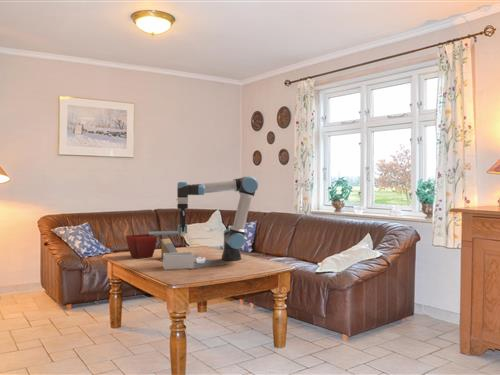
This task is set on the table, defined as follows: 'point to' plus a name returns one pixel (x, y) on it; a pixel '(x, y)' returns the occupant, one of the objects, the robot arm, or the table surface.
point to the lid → (168, 231)
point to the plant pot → (141, 245)
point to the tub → (178, 260)
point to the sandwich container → (167, 247)
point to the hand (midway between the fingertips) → (182, 235)
